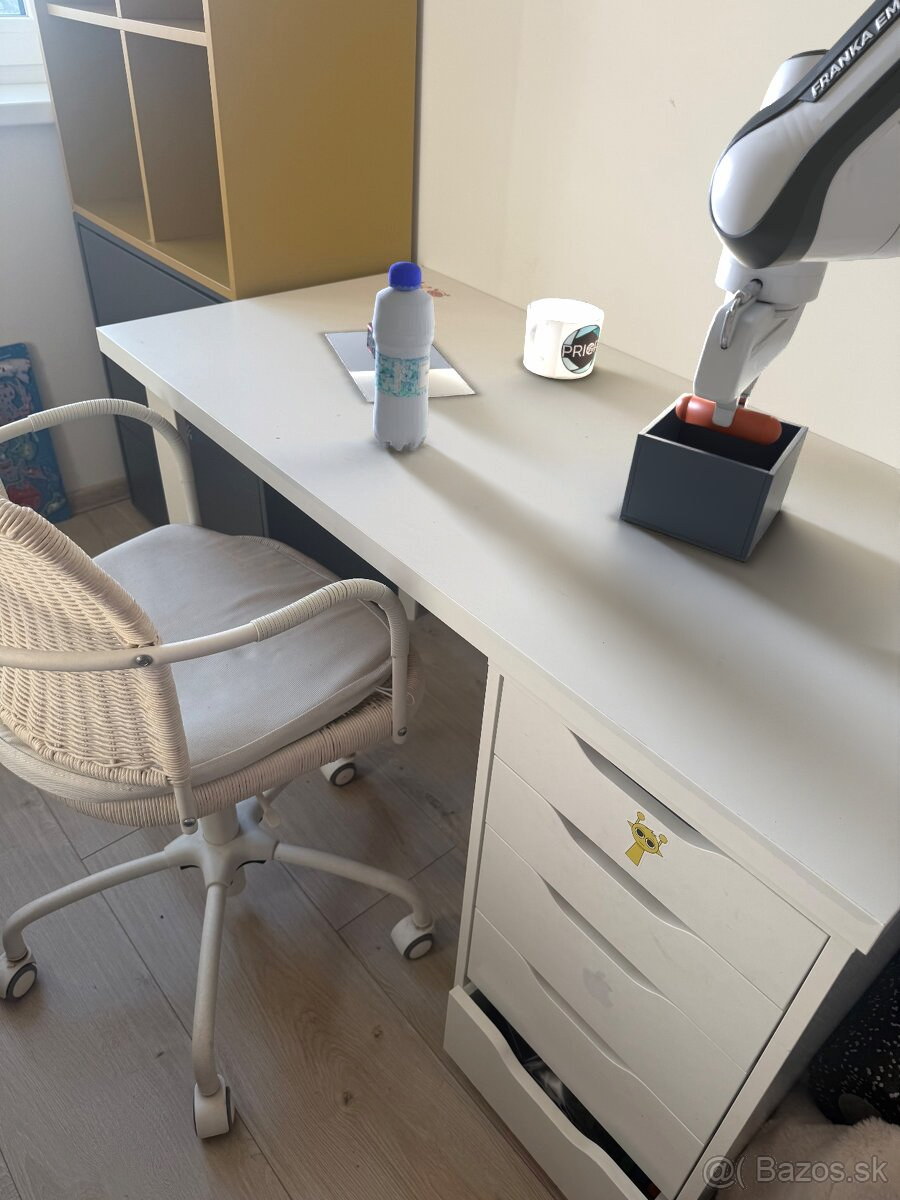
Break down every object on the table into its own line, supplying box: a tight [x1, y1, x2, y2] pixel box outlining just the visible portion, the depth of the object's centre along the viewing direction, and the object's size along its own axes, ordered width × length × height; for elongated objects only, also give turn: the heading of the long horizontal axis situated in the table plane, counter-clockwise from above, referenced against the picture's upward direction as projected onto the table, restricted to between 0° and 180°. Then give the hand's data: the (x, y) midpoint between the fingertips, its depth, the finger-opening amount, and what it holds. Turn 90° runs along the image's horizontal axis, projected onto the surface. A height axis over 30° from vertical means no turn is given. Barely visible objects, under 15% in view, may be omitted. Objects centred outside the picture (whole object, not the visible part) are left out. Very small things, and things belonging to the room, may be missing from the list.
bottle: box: [371, 261, 436, 452], centre depth 90 cm, size 7×7×20 cm
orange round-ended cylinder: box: [676, 393, 782, 445], centre depth 81 cm, size 10×3×3 cm, turn 57°
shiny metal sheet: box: [324, 321, 476, 403], centre depth 115 cm, size 14×25×4 cm, turn 19°
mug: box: [523, 297, 605, 380], centre depth 115 cm, size 13×10×8 cm
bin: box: [619, 392, 810, 563], centre depth 84 cm, size 13×13×10 cm
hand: (729, 416), depth 81 cm, fingers closed on orange round-ended cylinder, 3 cm apart
